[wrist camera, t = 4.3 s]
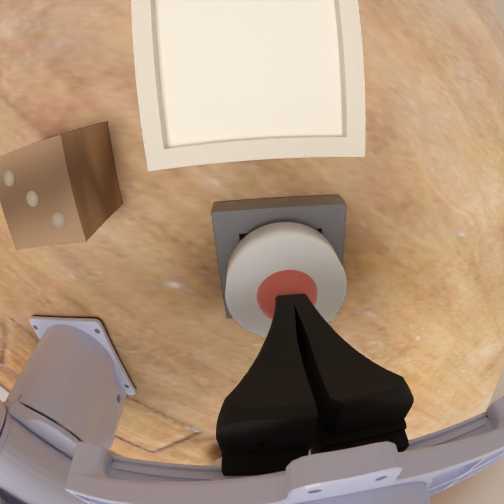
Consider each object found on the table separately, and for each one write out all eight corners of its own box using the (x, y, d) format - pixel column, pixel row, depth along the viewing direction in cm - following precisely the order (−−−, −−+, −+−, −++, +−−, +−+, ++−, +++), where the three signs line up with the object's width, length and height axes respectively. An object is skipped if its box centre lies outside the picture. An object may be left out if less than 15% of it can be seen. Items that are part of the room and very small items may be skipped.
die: (123, 203, 17) (85, 241, 12) (59, 213, 17) (15, 250, 12) (108, 120, 14) (60, 134, 10) (42, 140, 15) (-11, 161, 10)
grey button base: (331, 294, 20) (337, 309, 19) (227, 302, 20) (226, 318, 19) (338, 194, 17) (346, 204, 15) (214, 202, 17) (211, 212, 15)
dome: (326, 294, 19) (346, 350, 15) (234, 301, 19) (231, 360, 15) (332, 206, 16) (361, 249, 12) (223, 213, 17) (215, 260, 12)
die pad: (355, 151, 16) (364, 156, 14) (155, 165, 16) (148, 171, 14) (343, -29, 10) (351, -38, 9) (139, -16, 10) (131, -24, 9)
